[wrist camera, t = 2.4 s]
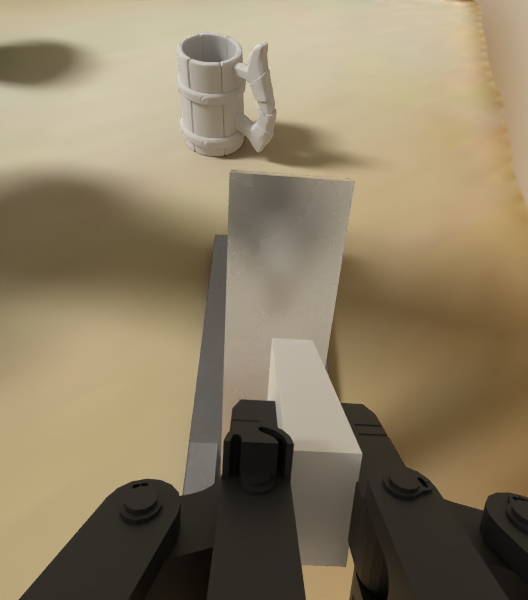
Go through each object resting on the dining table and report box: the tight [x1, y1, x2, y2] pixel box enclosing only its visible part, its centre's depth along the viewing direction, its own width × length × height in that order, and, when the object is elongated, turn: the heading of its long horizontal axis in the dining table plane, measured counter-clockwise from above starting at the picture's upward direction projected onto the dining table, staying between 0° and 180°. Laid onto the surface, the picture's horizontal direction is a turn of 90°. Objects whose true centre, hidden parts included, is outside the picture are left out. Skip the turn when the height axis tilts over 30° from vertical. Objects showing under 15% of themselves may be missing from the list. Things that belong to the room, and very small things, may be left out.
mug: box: [177, 32, 276, 156], centre depth 39 cm, size 8×12×12 cm, turn 57°
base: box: [183, 235, 328, 495], centre depth 27 cm, size 24×10×7 cm, turn 178°
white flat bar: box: [220, 170, 355, 477], centre depth 19 cm, size 18×5×2 cm
